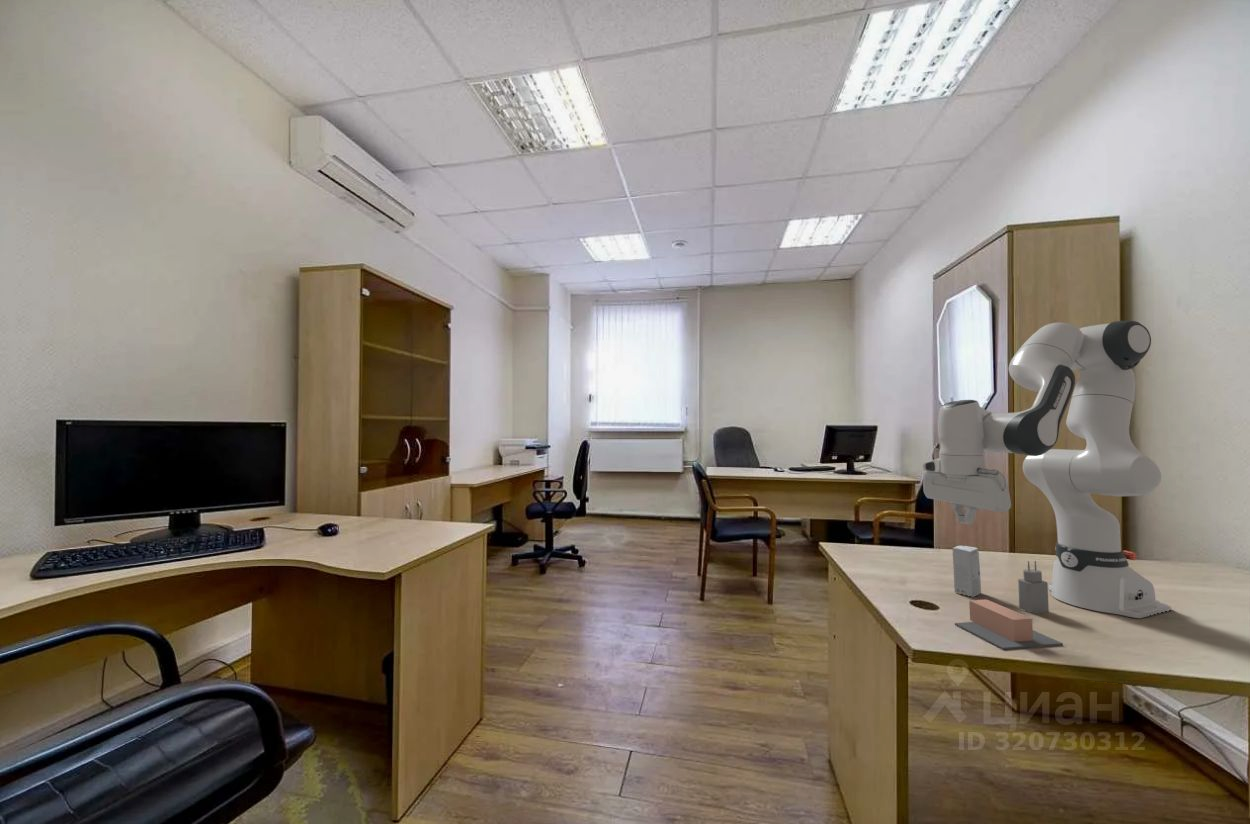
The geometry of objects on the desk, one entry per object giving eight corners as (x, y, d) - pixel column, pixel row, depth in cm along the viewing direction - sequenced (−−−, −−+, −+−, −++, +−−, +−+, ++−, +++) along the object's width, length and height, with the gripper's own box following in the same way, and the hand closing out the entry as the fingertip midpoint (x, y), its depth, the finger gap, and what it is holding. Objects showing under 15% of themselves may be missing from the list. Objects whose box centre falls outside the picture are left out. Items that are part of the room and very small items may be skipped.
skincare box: (973, 598, 112) (971, 551, 113) (953, 592, 116) (951, 547, 117) (982, 592, 116) (980, 548, 116) (962, 587, 120) (960, 544, 120)
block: (986, 599, 99) (1032, 618, 90) (987, 619, 99) (1033, 640, 89) (969, 600, 99) (1013, 619, 89) (970, 620, 99) (1014, 641, 89)
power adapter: (1017, 608, 106) (1015, 559, 107) (1037, 607, 107) (1035, 558, 107) (1030, 613, 103) (1028, 563, 103) (1050, 612, 104) (1048, 562, 104)
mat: (1009, 621, 99) (1009, 619, 99) (1062, 645, 88) (1062, 643, 88) (954, 624, 97) (954, 623, 97) (1002, 649, 86) (1002, 647, 86)
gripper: (1017, 470, 94) (1020, 533, 94) (938, 462, 114) (941, 514, 114) (992, 471, 93) (995, 534, 93) (917, 463, 114) (919, 515, 113)
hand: (964, 523), depth 104 cm, fingers closed
